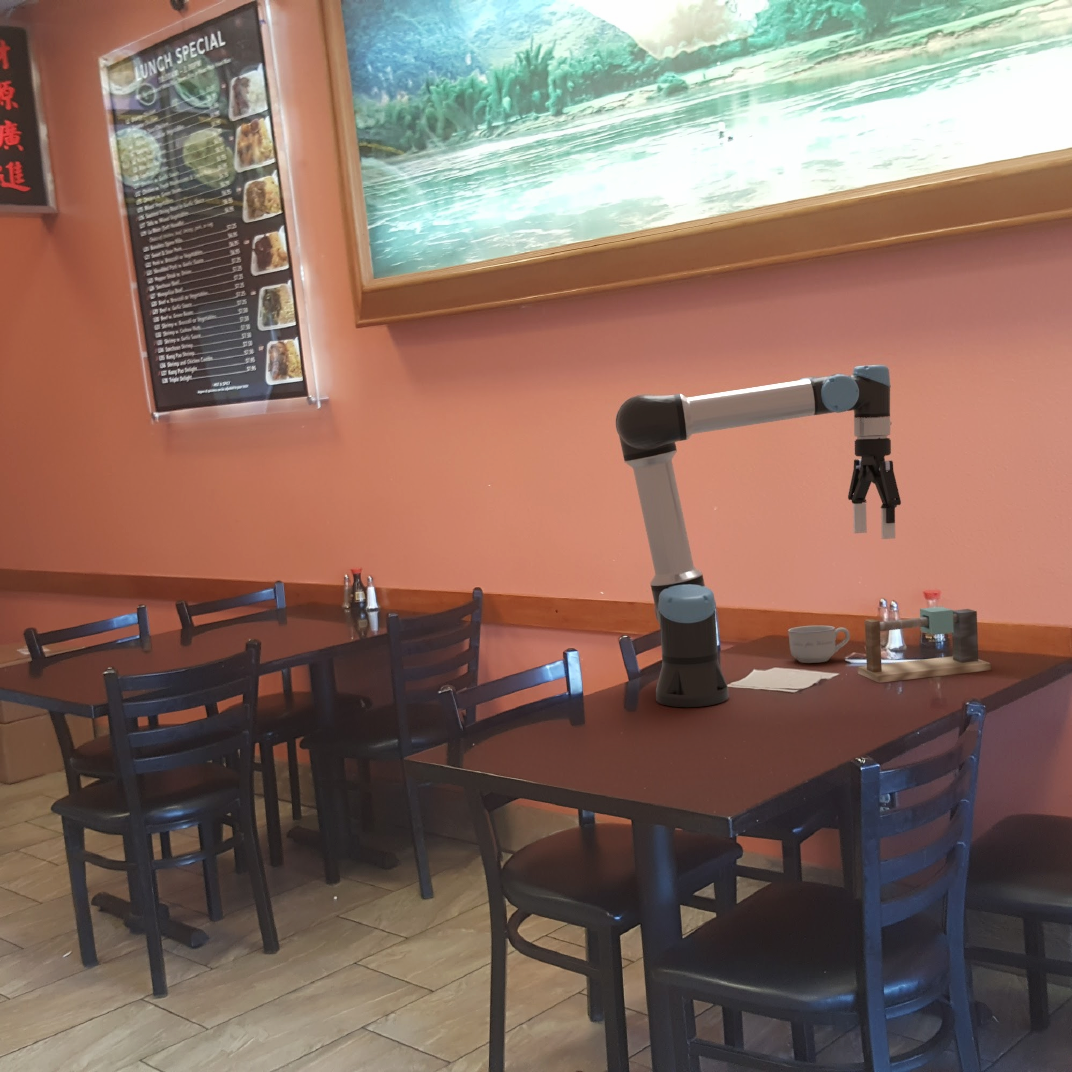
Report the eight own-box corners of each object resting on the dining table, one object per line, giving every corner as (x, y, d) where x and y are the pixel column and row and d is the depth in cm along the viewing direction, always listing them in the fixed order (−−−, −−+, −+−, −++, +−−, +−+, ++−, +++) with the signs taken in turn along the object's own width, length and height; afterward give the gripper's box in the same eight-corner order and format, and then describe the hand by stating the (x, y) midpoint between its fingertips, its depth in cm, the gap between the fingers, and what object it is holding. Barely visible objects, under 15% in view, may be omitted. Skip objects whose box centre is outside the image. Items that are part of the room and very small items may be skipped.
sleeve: (932, 635, 259) (931, 612, 258) (920, 631, 263) (919, 608, 263) (953, 632, 259) (952, 609, 259) (941, 628, 264) (940, 606, 264)
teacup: (787, 666, 277) (785, 632, 276) (791, 656, 287) (790, 623, 286) (849, 666, 273) (848, 631, 272) (851, 656, 283) (850, 622, 282)
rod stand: (878, 682, 255) (876, 624, 253) (858, 673, 264) (855, 617, 263) (990, 670, 259) (989, 613, 258) (966, 661, 269) (964, 606, 268)
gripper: (917, 437, 246) (918, 540, 248) (863, 436, 270) (864, 529, 273) (882, 439, 245) (884, 542, 247) (831, 437, 269) (833, 531, 271)
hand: (874, 535), depth 260 cm, fingers open, 13 cm apart
